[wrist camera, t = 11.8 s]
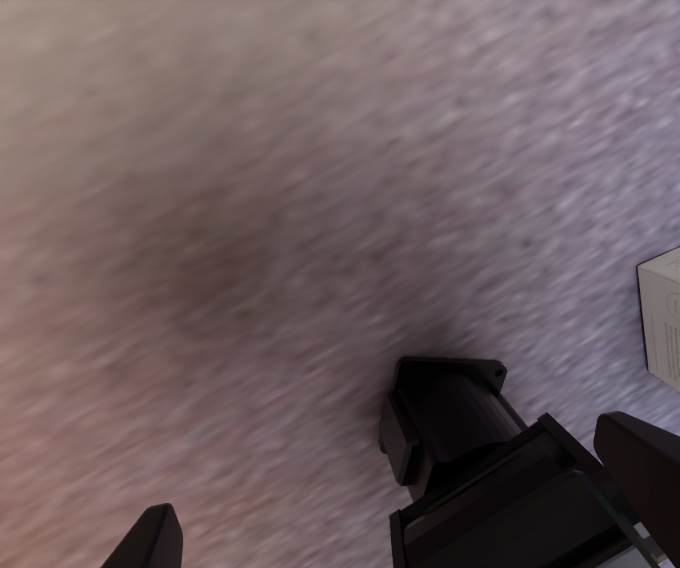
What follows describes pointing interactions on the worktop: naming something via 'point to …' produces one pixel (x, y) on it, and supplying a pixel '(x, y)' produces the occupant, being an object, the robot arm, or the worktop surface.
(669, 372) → the small box
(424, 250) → the worktop surface
